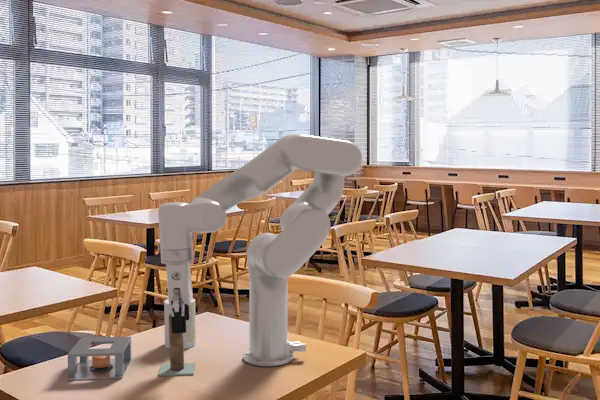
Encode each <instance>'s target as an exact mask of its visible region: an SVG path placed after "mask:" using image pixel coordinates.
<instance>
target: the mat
mask: <svg viewBox="0 0 600 400" xmlns="http://www.w3.org/2000/svg"><path fill="white" fill-rule="evenodd" d="M195 368H196V362H184V369H182V370H179V371H173V370H171V369H170V363H162V364H161V366H160V369H159V372H158V377H172V376H175V377H177V375H178V376H194V374H195Z"/></svg>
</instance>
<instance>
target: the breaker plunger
mask: <svg viewBox="0 0 600 400" xmlns="http://www.w3.org/2000/svg"><path fill="white" fill-rule="evenodd" d="M110 359H111V356H91V360H92V366H93V367H95V368H103V367H107V366H109V365H110Z"/></svg>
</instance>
